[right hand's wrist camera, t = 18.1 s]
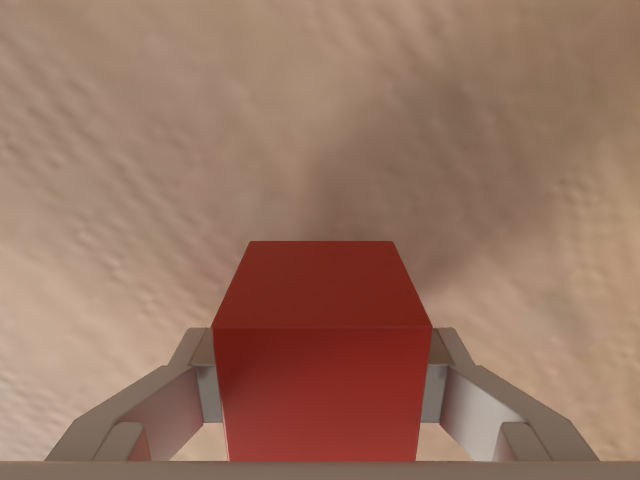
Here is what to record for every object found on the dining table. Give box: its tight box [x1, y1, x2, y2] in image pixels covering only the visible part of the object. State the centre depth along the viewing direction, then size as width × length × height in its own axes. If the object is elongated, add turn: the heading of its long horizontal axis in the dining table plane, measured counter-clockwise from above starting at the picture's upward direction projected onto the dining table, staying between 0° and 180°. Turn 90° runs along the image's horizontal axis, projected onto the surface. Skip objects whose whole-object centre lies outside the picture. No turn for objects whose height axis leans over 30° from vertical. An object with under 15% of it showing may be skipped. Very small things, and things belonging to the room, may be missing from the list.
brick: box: [211, 241, 433, 461], centre depth 10 cm, size 5×4×4 cm
